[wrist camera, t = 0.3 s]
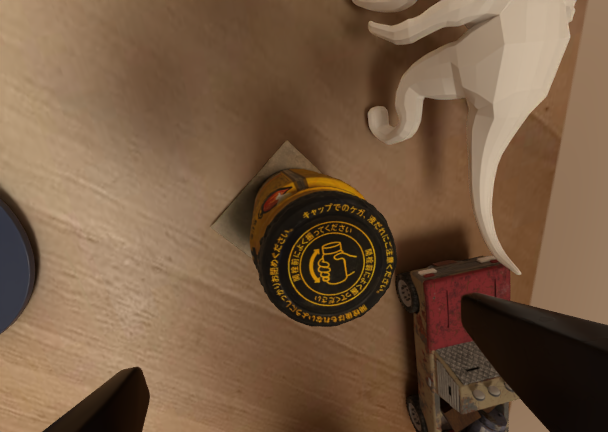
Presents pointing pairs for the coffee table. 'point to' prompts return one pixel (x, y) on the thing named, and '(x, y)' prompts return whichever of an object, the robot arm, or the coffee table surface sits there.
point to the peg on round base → (14, 268)
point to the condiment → (311, 241)
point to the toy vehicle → (454, 348)
